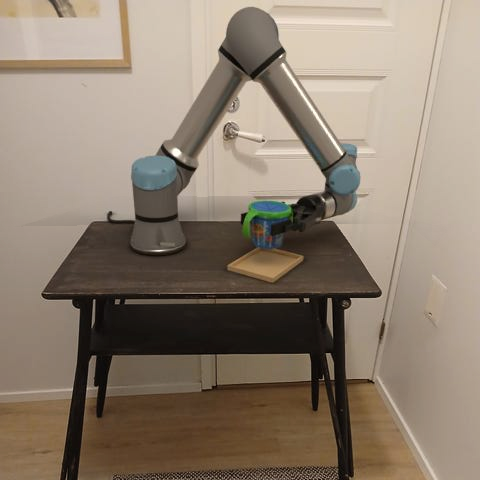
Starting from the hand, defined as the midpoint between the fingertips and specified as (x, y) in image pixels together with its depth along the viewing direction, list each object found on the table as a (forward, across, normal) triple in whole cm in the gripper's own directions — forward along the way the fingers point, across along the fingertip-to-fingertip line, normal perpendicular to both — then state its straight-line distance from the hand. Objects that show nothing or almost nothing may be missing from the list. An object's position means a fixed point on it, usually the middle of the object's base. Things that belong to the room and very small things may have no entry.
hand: (256, 224), depth 119 cm
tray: (-4, 0, -12) cm, 13 cm away
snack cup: (-4, 0, -6) cm, 8 cm away
